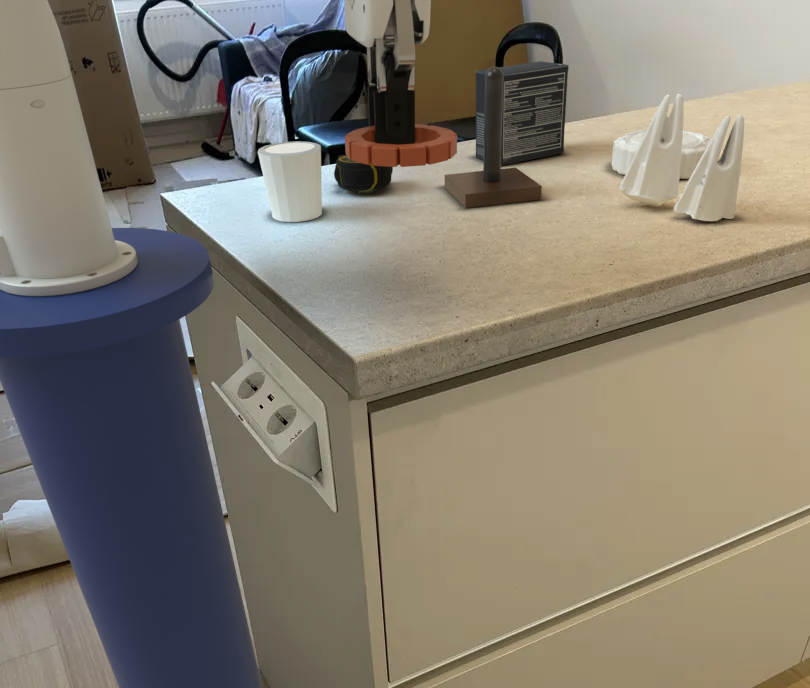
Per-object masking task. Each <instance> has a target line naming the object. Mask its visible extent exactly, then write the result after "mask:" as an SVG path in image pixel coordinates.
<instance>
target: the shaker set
mask: <svg viewBox="0 0 810 688" xmlns="http://www.w3.org/2000/svg"><path fill="white" fill-rule="evenodd" d="M670 102H671V94H666V95H665V96H664V97H663V99H662V100H661V102H660V104H659V105H658V107H657V109H656V111H655V113H654V115H653V117H652V119H651V120H650V123H649V125H648V127H647V129H646V130H647V131H646V133H645V135H644V137H643V139H642V141H641V143H640V145H639V147H638V149H637V151H636V153H635V155H634V158H633V160H632V162H631V164H630V166H629V168H628V170H627V173H626V175H624V177H623V178H622V180H621V182H620V184H619V191H620V192H621V193H622V195H624V196H625V197H627V198H628V199H630V200H633V201H634V202H637V203H640V204H642V205H646V206H649V207H661V206H662V205H663V204H664V203H666V202H668V201H671V200H674V199H676V198H677V197H678V199H677V201H676V203H675V205H674V206H673V211H674V212H675V213H679V214H686V215H687V216H688V215H689V216H691V219H692V220H699V221H704V222H718V221H720V220H721V219H723V218H724V219H726V220H727V219H728V220H733V219H735V212H736V206H737V199H738V193H739V192H738V191H739V184H740V176H741V168H742V166H741V165H742V159H743V149H744V138H745V136H744V135H745V116H744V115H743V114H738V115H737V116H736V118H735V120H734V123H733V125H732V126H731V127H732V128H731V130H730V133H729V135H728V138H727V140H726V143H725V146H724V147H723V145H724V141H725V138H726V136H727V132H728V129H729V126H730V123H731V115H726V116H725V117H723V119H722V121H721V122H720V123H719V125H718V126H717V128H716V130H715V131H714V134H713V135H712V137H711V141H710V143H709V144H708V146H707V148H706V150H705V151H704V153H703V155H702V157H701V159H700V161H699V162H698V164H697V166H696V168H695V169H694V171H693V173H692V175H691V177H690V178H689V179H687V182H686V184H685V186H684V187H683V189H682V191H681V193H680V196H679V187H680V179H679V176H680V166H681V153H682V138H683V130H684V120H685V119H684V115H685V114H684V113H685V112H684V110H685V105H684V104H685V103H684V95H683V94H681V93H677V94H676V97H675V100H674V102H673V105H672V108H671V110H670V112H669V107H670ZM668 112H669V113H670V114H669V115H668ZM722 147H723V150H722ZM721 151H722V153H721ZM720 154H721V155H720ZM719 157H720V158H719Z"/></svg>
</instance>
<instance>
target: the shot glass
mask: <svg viewBox="0 0 810 688" xmlns="http://www.w3.org/2000/svg"><path fill="white" fill-rule="evenodd" d="M257 156H258V159H259V164H260V168H261V172H262V177H263V181H264V186H265V190H266V194H267V195H266V196H267V198H268V199H267V200H268V204H269V207H270V213H271V217H272V218H273V219H274V220H275V221H279V222H284V223H300V222H307V221H312V220H314V219H317V218H319V217H321V216H322V214H323V201H322V200H323V199H322V197H323V196H322V195H323V193H322V145H321V144H319V143H317V142H313V141H312V142H311V141H300V140H299V141H298V140H297V141H296V140H295V141H294V140H293V141H283V142H282V141H281V142H277V143H272V144H268V145H264V146H262V147H260V148H258V150H257Z"/></svg>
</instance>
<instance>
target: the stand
mask: <svg viewBox="0 0 810 688" xmlns="http://www.w3.org/2000/svg"><path fill="white" fill-rule="evenodd" d="M487 69H488V71H487V72H486V75H485V109H484V160H483V162H482V163H483V165H482V167H483V170H478V171H477V170H476V171H467V172H459V173H449V174H448V173H447V174H444V189H445V190H446V191H447V192H448V193H450V195H451V196H452V197H453V198H455V199H456V200H457V201H458V202H459V203H460V204H461V205H462V207H464V209H469V208H479V207H480V208H481V207H489V206H497V205H507V204H514V203H515V204H516V203H524V202H525V203H526V202H534V201H535V202H536V201H541V200H542V190H543V187H542V185H541V184H540V183H538V182H537V181H536V180H534V179H532V178H531V177H530V176H528V175H527V174H525V172H523V171H522V170H520V169H518V168H517V167H508V168H507V167H506V168H502V166H501V144H502V112H503V80H504V75H503V72H502V70H501V69H500V68H499V67H498V66H491V67H490V68H487Z"/></svg>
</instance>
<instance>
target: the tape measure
mask: <svg viewBox="0 0 810 688" xmlns="http://www.w3.org/2000/svg"><path fill="white" fill-rule="evenodd" d="M393 171H394V167H387V166H373V165H372V164H370V165H367V164H363V163H359V162H356V161H352V160H350V159H349V158H348V156H347V155H346V154H340V155H338V156H337V159H336V161H335V167H334V171H333V176H334V179H335V181H336V183H337V185H338V187H339V188H341V189H343V190H346V191H352V192H353V191H354V192H357V193H358V194H373V193H374V191H377V190H380V189H381V190H382V189H383V188H386V187H388V186H390V184H391V183H392V175H393Z"/></svg>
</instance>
